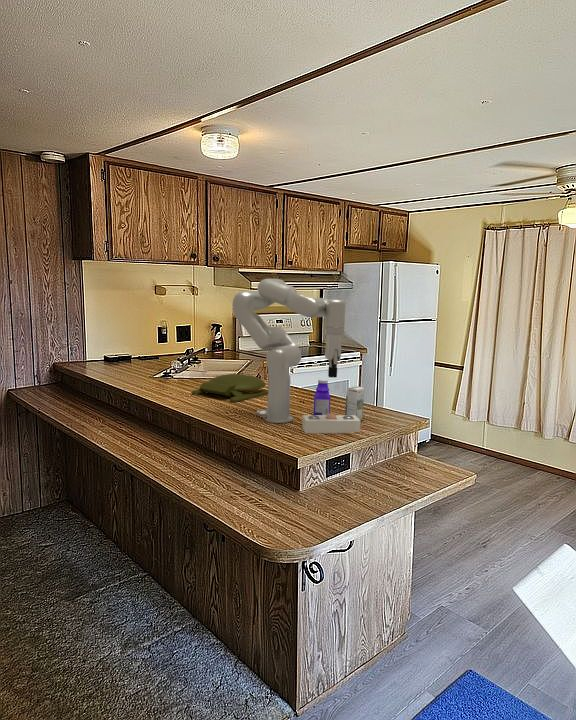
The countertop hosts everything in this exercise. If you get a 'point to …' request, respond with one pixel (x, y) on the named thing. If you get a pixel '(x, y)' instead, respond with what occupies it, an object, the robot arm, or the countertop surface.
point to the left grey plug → (313, 417)
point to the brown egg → (331, 416)
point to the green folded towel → (233, 386)
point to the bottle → (322, 398)
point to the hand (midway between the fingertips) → (332, 376)
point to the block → (330, 424)
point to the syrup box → (354, 401)
